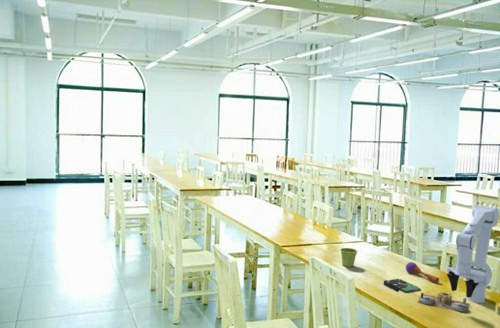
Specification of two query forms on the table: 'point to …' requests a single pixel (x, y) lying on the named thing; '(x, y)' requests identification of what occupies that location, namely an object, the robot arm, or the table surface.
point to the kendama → (420, 272)
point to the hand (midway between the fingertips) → (461, 293)
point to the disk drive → (401, 285)
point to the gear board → (452, 305)
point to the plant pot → (348, 256)
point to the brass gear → (445, 297)
